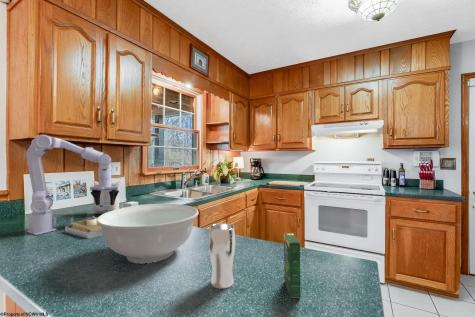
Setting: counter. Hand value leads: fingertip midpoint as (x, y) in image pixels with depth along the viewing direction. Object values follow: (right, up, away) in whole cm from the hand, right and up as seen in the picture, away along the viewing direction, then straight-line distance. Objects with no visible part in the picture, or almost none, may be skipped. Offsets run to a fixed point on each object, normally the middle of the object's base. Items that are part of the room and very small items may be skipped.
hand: (105, 204), depth 121 cm
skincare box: (+15, -10, -5) cm, 19 cm away
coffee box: (+81, -10, -61) cm, 101 cm away
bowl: (+37, -10, -38) cm, 54 cm away
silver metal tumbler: (+63, -10, -57) cm, 86 cm away
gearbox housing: (0, -10, -10) cm, 14 cm away
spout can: (0, -10, -11) cm, 15 cm away
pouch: (-11, -10, +21) cm, 26 cm away
